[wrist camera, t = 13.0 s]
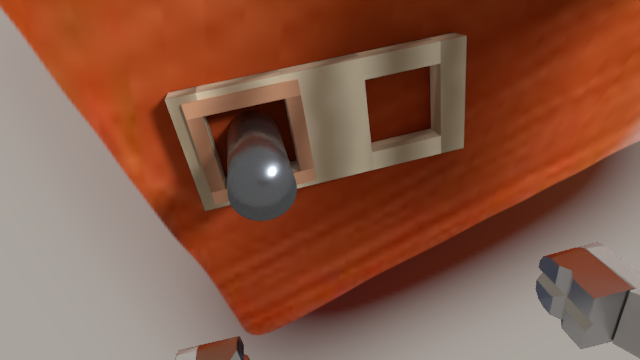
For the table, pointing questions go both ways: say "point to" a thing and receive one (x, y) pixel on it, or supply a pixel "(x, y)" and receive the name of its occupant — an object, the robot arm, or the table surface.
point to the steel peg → (258, 168)
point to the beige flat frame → (328, 113)
